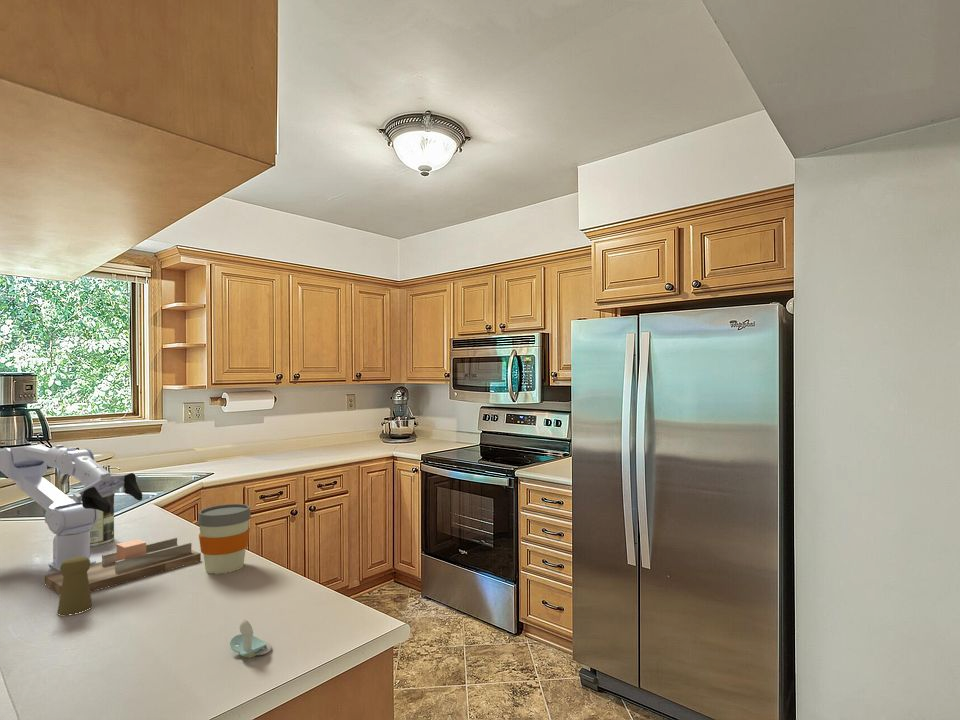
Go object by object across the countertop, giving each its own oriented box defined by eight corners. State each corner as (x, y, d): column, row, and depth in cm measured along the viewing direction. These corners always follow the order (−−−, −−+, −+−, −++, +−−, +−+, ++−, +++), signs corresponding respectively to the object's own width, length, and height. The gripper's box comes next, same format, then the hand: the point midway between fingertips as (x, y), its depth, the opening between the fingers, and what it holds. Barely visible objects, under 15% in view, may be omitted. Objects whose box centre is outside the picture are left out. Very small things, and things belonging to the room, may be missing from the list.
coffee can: (105, 535, 172) (105, 490, 172) (120, 540, 166) (121, 493, 167) (66, 543, 163) (66, 496, 164) (82, 549, 158) (82, 500, 158)
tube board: (44, 584, 131) (44, 565, 131) (174, 550, 155) (174, 534, 155) (66, 598, 122) (66, 578, 122) (200, 560, 146) (200, 544, 147)
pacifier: (256, 640, 102) (225, 652, 98) (257, 606, 103) (226, 617, 98) (279, 652, 98) (247, 665, 93) (280, 616, 98) (248, 628, 94)
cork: (73, 617, 113) (73, 563, 113) (49, 615, 114) (50, 562, 114) (99, 605, 119) (99, 554, 119) (76, 603, 120) (76, 552, 120)
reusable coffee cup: (205, 580, 132) (205, 518, 133) (191, 567, 142) (191, 509, 142) (258, 568, 140) (257, 509, 141) (242, 556, 150) (241, 501, 150)
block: (116, 563, 139) (116, 544, 139) (137, 558, 143) (137, 539, 143) (124, 567, 136) (124, 547, 136) (146, 561, 140) (146, 542, 140)
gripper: (63, 474, 134) (94, 501, 129) (124, 455, 146) (155, 479, 141) (63, 498, 136) (93, 525, 131) (123, 477, 149) (153, 501, 143)
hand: (125, 503), depth 136 cm, fingers open, 7 cm apart
